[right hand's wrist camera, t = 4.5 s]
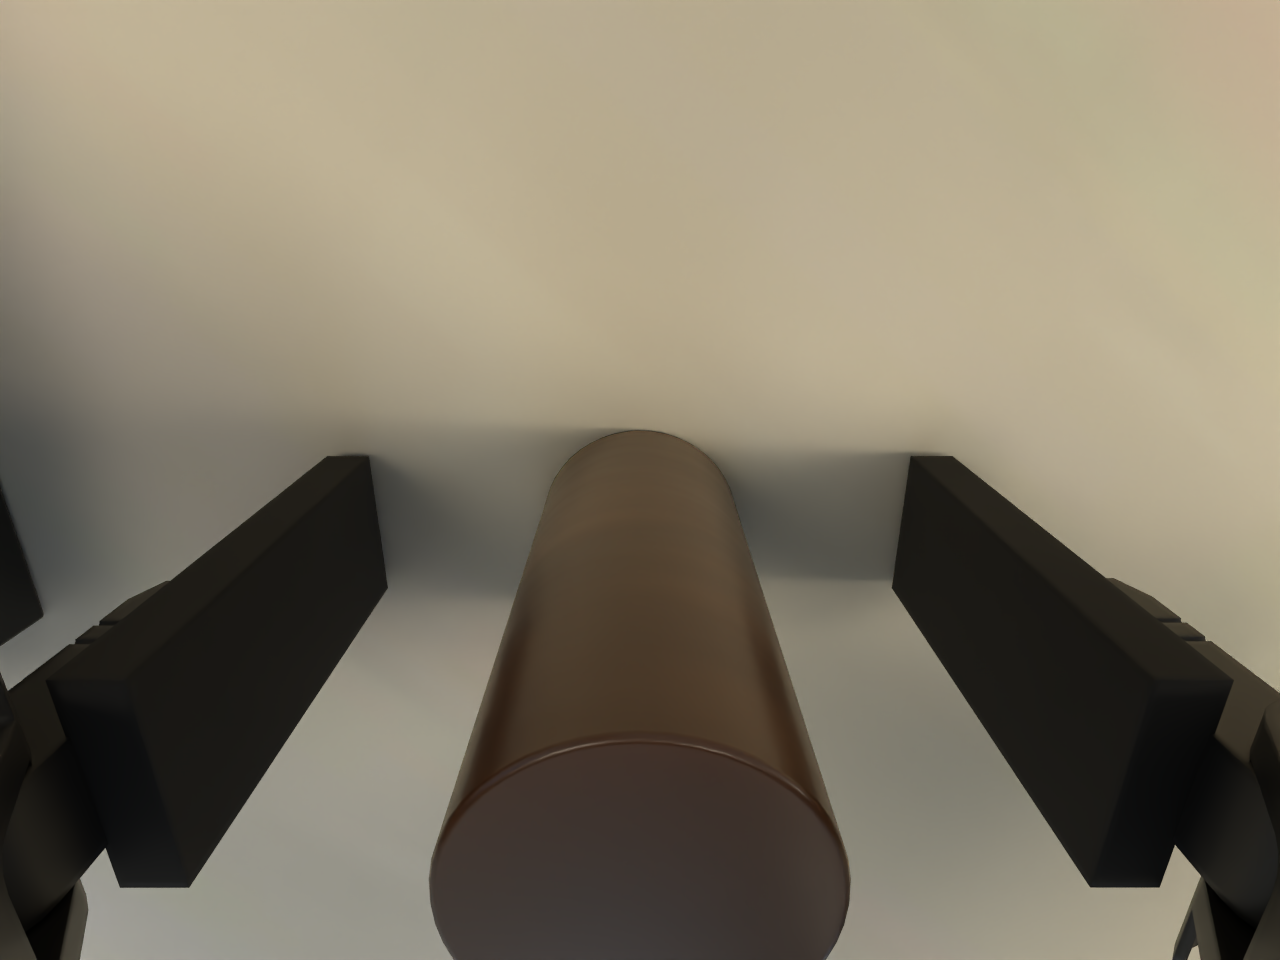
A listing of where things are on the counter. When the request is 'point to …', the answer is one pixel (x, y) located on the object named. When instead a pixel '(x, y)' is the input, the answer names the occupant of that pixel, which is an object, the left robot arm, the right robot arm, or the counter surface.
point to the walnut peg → (639, 741)
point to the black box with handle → (14, 583)
